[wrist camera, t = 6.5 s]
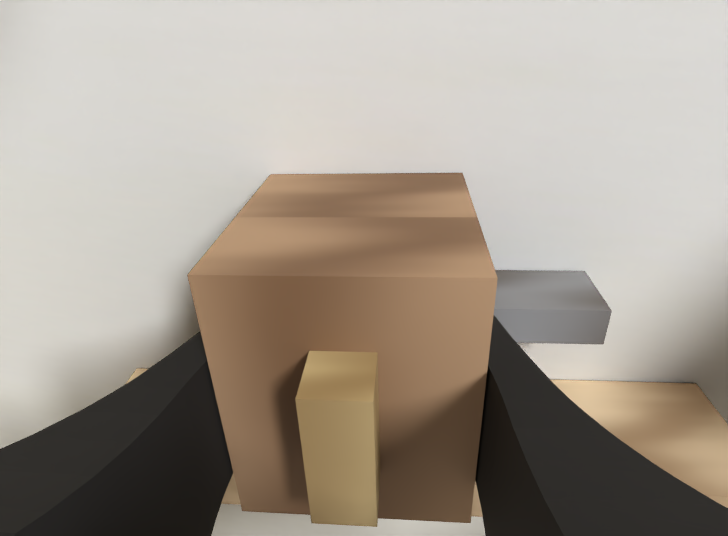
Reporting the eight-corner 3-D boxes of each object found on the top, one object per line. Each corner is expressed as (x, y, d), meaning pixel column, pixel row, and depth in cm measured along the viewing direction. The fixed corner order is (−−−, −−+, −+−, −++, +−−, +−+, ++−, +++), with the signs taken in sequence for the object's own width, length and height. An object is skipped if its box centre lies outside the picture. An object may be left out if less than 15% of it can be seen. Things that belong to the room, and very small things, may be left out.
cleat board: (738, 272, 13) (859, 369, 10) (685, 412, 15) (766, 531, 12) (104, 267, 15) (8, 349, 11) (145, 395, 17) (77, 496, 13)
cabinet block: (462, 172, 12) (512, 321, 6) (450, 359, 15) (477, 581, 9) (270, 174, 13) (154, 315, 7) (293, 355, 16) (224, 565, 10)
